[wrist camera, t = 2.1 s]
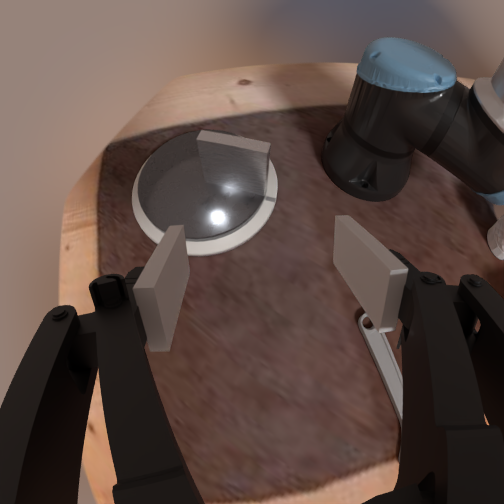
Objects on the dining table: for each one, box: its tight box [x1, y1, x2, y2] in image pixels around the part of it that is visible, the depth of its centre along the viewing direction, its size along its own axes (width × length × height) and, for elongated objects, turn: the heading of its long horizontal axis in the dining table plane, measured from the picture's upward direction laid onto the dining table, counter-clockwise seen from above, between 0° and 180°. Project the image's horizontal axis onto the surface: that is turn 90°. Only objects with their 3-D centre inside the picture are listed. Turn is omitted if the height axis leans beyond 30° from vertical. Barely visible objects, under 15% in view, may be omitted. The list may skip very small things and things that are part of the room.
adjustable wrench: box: [358, 313, 403, 464], centre depth 34 cm, size 25×6×2 cm, turn 17°
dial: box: [138, 130, 271, 242], centre depth 39 cm, size 19×19×10 cm
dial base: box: [132, 135, 278, 257], centre depth 45 cm, size 22×22×1 cm
